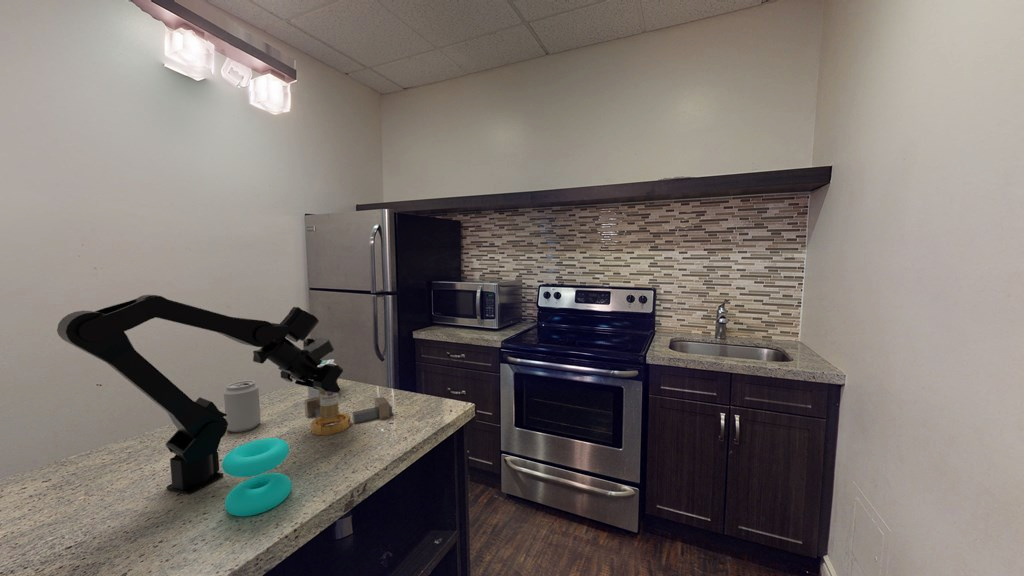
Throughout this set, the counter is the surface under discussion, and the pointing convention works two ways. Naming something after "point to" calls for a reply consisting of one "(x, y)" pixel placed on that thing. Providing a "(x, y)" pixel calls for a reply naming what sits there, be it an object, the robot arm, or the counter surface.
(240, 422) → the can
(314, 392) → the light bulb box
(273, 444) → the donuts
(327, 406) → the sprinkles bottle
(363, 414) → the coupling jig
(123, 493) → the counter surface
